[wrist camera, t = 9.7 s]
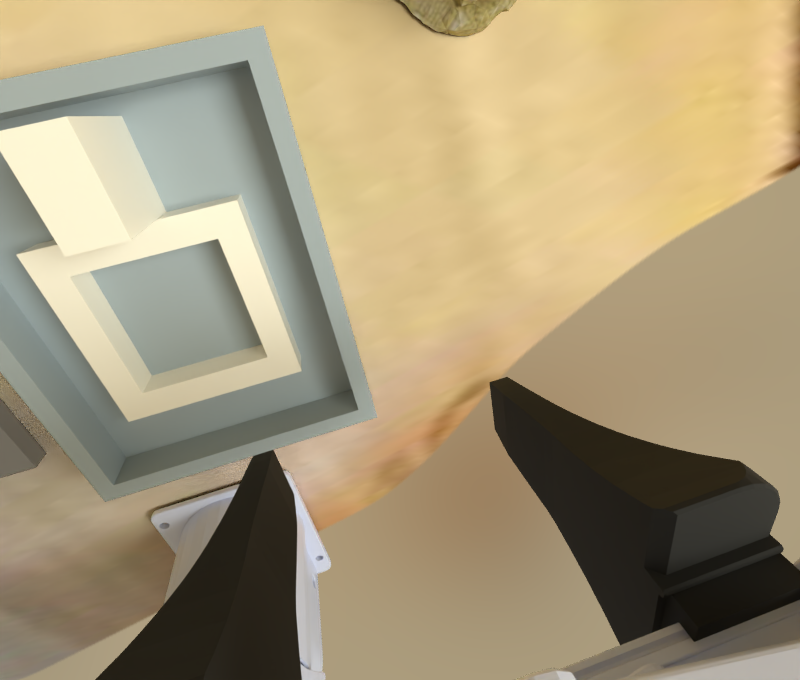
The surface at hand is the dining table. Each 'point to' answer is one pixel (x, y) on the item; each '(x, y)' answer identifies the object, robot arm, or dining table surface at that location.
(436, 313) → the dining table surface
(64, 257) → the square frame with tab
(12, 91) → the tray
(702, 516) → the robot arm
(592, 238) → the dining table surface
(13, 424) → the plate
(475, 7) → the ceramic model
